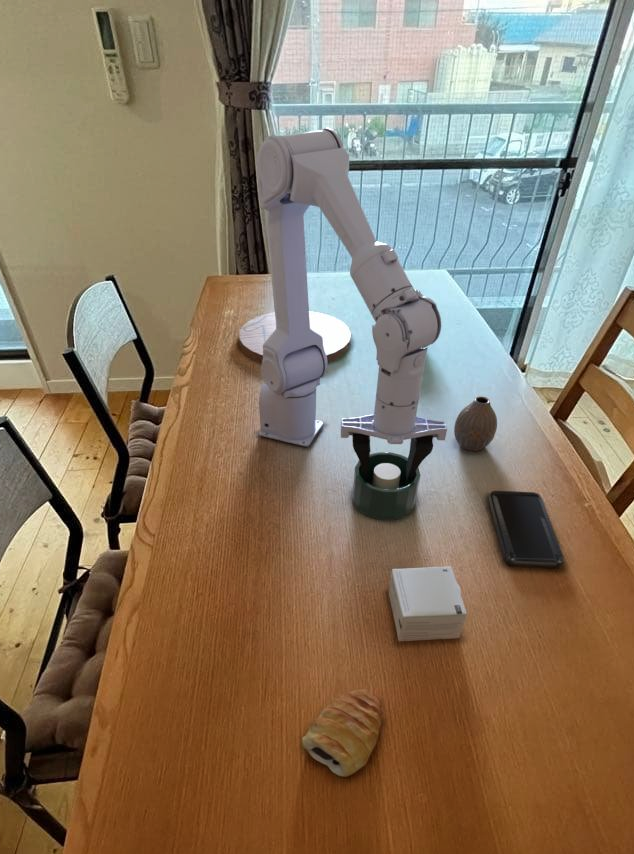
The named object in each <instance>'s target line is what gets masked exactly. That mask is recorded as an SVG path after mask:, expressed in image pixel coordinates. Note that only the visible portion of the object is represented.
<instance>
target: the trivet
mask: <svg viewBox="0 0 634 854" xmlns="http://www.w3.org/2000/svg"><path fill="white" fill-rule="evenodd" d="M309 320H310V328H311V329H313V330H314V331H316V332H317V333H319V334H320V335H321V336H322V338H323V347H324V351H325V353H326V356H327V362H328V364H330V363H332V362H335V361H337V360H339V359H341V358H342V357H343V356H345V354H346V353H347V352H348V351H349V350H350V347H351V341H352V332H351V329H350V327H348V325H347V324H345V322H344V321H342V320H340V319H338V318H337V317H335V316H332V315H329V314H326V313H322V312H318V311H312V310H309ZM275 329H276V320H275V311H272V312H267V313H264V314H261V315H258V316H255V317H253V318H251V319H249V320H248V321H247V322H245V323H244V324H243V325H242V326H241V329H240V330H239V331H238V338H239V347H240V349H241V351H242V352H243V354H244V355H246V356H247V357H248V358H250V359H251V360H253V361H256V362H258V363H260V364H262V360H263V344H264V343H265V342H266V340H267V339H268V338H269V337H270V335H271V334H272V333H273V332H274V331H275Z"/></svg>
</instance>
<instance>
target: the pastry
mask: <svg viewBox="0 0 634 854" xmlns="http://www.w3.org/2000/svg"><path fill="white" fill-rule="evenodd" d="M383 714H384V711H383V707H382V704H381V702H380V700H379V699H378V698H377V697H376V696H375V695H374V694H372V693H371V692H370V691H369V690H368V689H367V688H360V689H353V690H351V691H350V692H345V693H343V694H341V695H340V697H338V698H336V699H334V700H333V701H331V703H330V704H329V705H328V706H327V705H326V706H325V707H323V709H322V710H321V712H320V714H319V715H318V716H317V718H314V719H313V720H312V721H311V722H310V724H309V727H308V730H307V732H306V734H304V736H303V737H302V738H301V745H302V747H303V748H304V749H305V750H306V751H307V753H308V754H309V755H310V756H311V757H312V758H313V759H314V760H315V761H317V762H319V763H320V764H323V765H325V766H327V767H328V768H329V770H330V771H331V772H332V773H333V774H335V775H337V776H338V777H345V778H346V777H349V776H353V775H354V774H355V773H356V772H357V771H359V770H360V769H362V768H364V766H366V765H367V763H368V762H369V758H370V756H371V754H372V753H373V750H374V748H375V747H376V745H377V741H378V740H377V739H378V738H379V734H380V733H379V732H380V728H381V725H382V723H381V722H382V720H383V719H382V718H383Z"/></svg>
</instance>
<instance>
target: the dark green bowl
mask: <svg viewBox="0 0 634 854" xmlns="http://www.w3.org/2000/svg"><path fill="white" fill-rule="evenodd" d="M407 461H408V457H406V456H405V455H403V454H399V453H395V452H392V451H391V452H390V451H387V452H386V451H384V452H383V451H377V452H374V453H370V455H369V462H368V480H363V474H362V467H361V464H360V461H359V460H358V461H357V463H356V464H355V467H354V474H353V485H352V501H353V504H354V506H355V508H357V510H358V511H359V512H360V513H362V514H363V515H365V516H367V517H369V518H372V519H376V520H382V521H393V520H398V519H401V518H404V517H406V516H407V515H409V514H410V513H411V512H412V510H413V509H414V507H415V503H416V500H417V496H418V491H419V490H418V489H419V486H420V480H421V472H420V471H421V470H420V468H419V467H418V468H417V470H416V471H415V473H414V475H413V478H412V480H411V481H407V479H406V465H407ZM382 463H389V464H393V465H395V466H397V467H398V468H399V469H400V471H401V474H400V481H399V487H398V489H381V488H377V487H373V486H372V482H373V473H374V468H375V467H376V466H377V465H379V464H382Z"/></svg>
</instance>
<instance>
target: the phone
mask: <svg viewBox="0 0 634 854" xmlns="http://www.w3.org/2000/svg"><path fill="white" fill-rule="evenodd" d="M488 503H489V507H490V511H491V515H492V518H493V522H494V526H495V530H496V533H497V538H498V541H499V546H500V550H501V553H502V557H503V560H504V561H503V562H505V564H507V565H508V566H511V567H518V568H519V567H520V568H538V569H539V568H540V569H559V568H560V567H561V566H562V564H563V562H564V559H565V558H564V555H563V552H562V549H561V547H560V544H559V542H558V539H557V536H556V533H555V530H554V528H553V527H554V526H553V524H552V522H551V520H550V516H549V514H548V510H547V509H546V506H545V503H544V500H543V497H542V496H541V495H540V493H537V492H534V491H515V490H492V491H491V492H490V494H489V497H488Z"/></svg>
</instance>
